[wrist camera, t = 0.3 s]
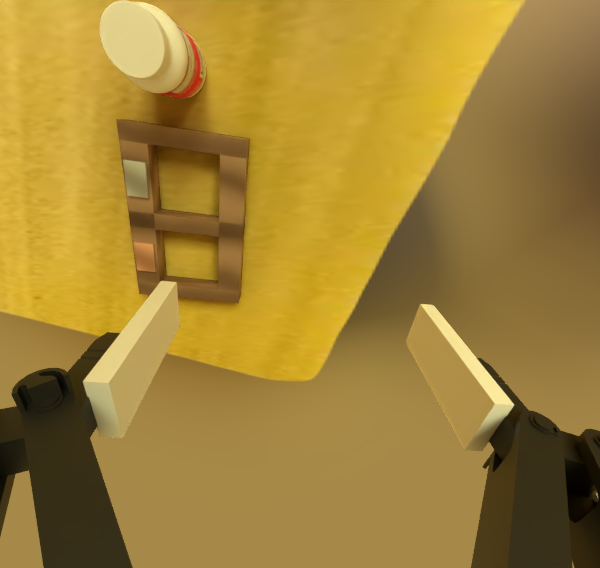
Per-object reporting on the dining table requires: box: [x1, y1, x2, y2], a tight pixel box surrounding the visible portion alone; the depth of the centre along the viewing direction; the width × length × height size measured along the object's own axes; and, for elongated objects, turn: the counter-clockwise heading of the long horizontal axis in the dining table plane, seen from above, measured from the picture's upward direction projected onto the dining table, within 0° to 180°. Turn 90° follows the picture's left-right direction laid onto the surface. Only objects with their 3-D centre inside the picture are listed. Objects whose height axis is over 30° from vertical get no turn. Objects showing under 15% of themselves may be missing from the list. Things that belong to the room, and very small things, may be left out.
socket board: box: [117, 119, 249, 303], centre depth 39 cm, size 22×14×3 cm, turn 172°
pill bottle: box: [100, 0, 206, 99], centre depth 27 cm, size 6×6×11 cm
